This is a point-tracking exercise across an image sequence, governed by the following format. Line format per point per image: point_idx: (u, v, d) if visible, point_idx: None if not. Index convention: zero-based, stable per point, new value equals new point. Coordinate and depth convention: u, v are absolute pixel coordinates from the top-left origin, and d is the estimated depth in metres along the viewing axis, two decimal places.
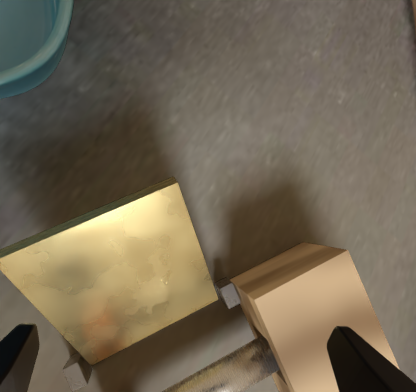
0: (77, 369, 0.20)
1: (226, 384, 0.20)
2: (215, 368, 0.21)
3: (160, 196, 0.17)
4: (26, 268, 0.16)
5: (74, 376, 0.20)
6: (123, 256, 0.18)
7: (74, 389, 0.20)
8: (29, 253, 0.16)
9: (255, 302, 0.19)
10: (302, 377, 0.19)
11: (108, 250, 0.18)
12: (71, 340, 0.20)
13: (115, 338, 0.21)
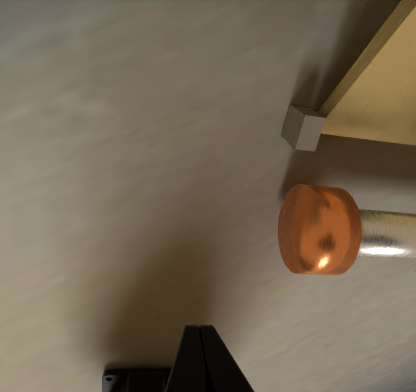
0: (319, 126, 0.14)
1: None
2: None
3: None
4: None
5: (310, 132, 0.14)
6: None
7: (299, 147, 0.14)
8: None
9: None
10: None
11: None
12: (358, 83, 0.13)
13: (375, 119, 0.15)
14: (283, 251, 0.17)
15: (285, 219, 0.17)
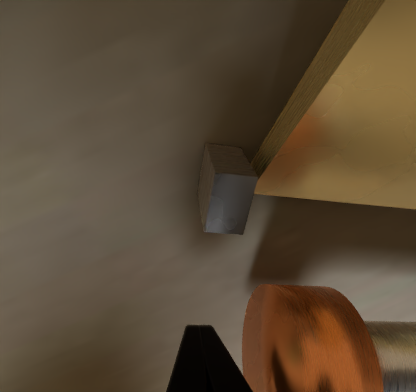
0: (246, 192, 0.07)
1: None
2: None
3: None
4: None
5: (230, 203, 0.07)
6: None
7: (211, 229, 0.08)
8: None
9: None
10: None
11: None
12: (313, 116, 0.06)
13: (357, 176, 0.08)
14: None
15: (251, 333, 0.10)
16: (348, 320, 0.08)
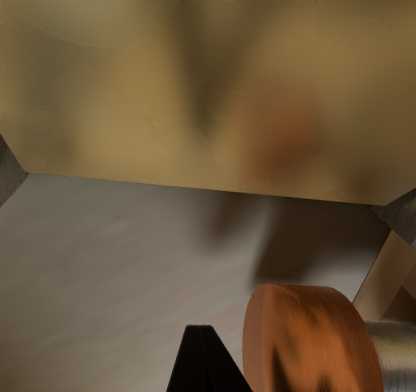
0: None
1: None
2: None
3: None
4: None
5: None
6: None
7: None
8: None
9: None
10: None
11: None
12: None
13: (122, 149, 0.07)
14: None
15: (252, 333, 0.10)
16: (348, 320, 0.08)
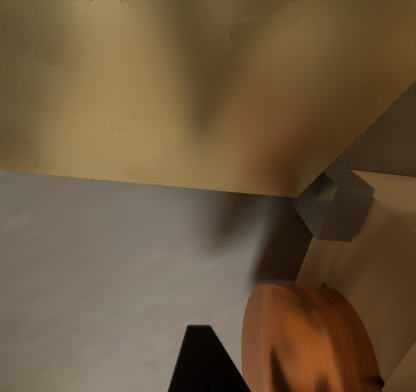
0: None
1: None
2: None
3: None
4: None
5: None
6: None
7: None
8: None
9: None
10: None
11: None
12: None
13: None
14: None
15: (251, 333, 0.10)
16: (346, 320, 0.08)
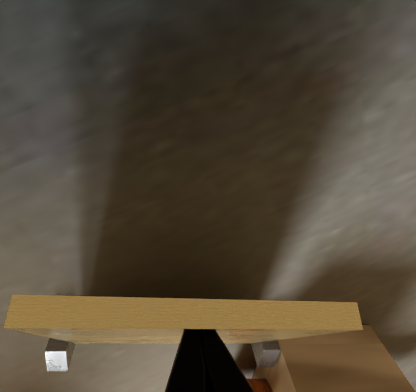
0: (62, 356, 0.16)
1: None
2: None
3: (322, 330, 0.10)
4: (57, 331, 0.09)
5: (56, 360, 0.16)
6: None
7: (50, 370, 0.16)
8: (74, 329, 0.08)
9: None
10: None
11: None
12: (70, 341, 0.14)
13: (121, 342, 0.16)
14: None
15: None
16: None
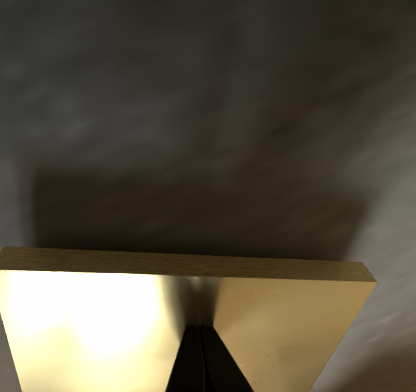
0: None
1: None
2: None
3: (336, 290, 0.09)
4: (42, 305, 0.08)
5: None
6: None
7: None
8: (65, 284, 0.08)
9: None
10: None
11: None
12: None
13: None
14: None
15: None
16: None
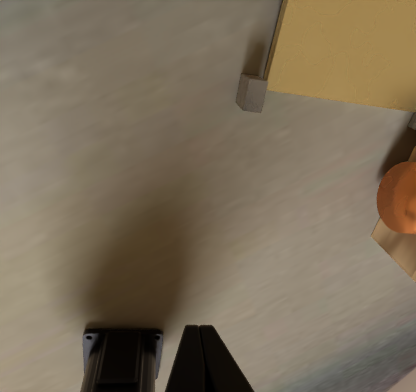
0: (263, 89, 0.16)
1: None
2: None
3: None
4: None
5: (255, 95, 0.16)
6: None
7: (246, 109, 0.16)
8: None
9: None
10: None
11: None
12: (285, 24, 0.15)
13: (313, 69, 0.17)
14: (385, 218, 0.20)
15: (387, 192, 0.20)
16: None
